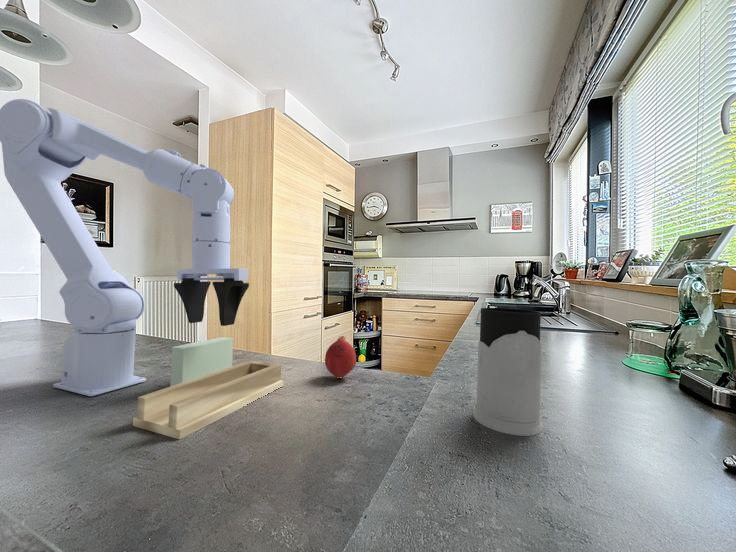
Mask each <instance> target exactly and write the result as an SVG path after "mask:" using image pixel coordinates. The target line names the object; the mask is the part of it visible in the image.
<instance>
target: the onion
mask: <svg viewBox="0 0 736 552" xmlns="http://www.w3.org/2000/svg"><path fill="white" fill-rule="evenodd" d="M346 339H347V338H346V336H345V335H343V334H342V335H339V337H338V338H337V340H336V341H334V342H333V343H332V344H330V346H328V348H327V350H326V352H325V357H324V363H325V367H326V369H327V371H328V372H329V373H330V374H331V375H332V376H334V377H335V378H337V377H339V378H340V377H344V378H345V377H346V376H347V375H348V374H349V373H351V372H352V371H353V369H354V368H355V366H356V365H357V354H356V351H355V349H354V347H353V345H351V344H350V343H349V342H348V341H346Z"/></svg>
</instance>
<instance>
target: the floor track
mask: <svg viewBox="0 0 736 552" xmlns="http://www.w3.org/2000/svg"><path fill="white" fill-rule="evenodd" d="M281 378H282V364H276V363H269V362H264V361H263V362H262V361H257V360H256V361H255V360H248V361H245V362H241V363H239V364H236V365H232V367H229V368H226V369H223V370H220V371H217V372H214V373H211V374H208V375H205V376H201V377H198V378H195V379H192V380H189V381H186V382H183V383H180V384H177V385H174V386H171V387H170V386H167V387H165V388H162V389H159V390H156V391H152V392H148V393H146V394H144V395H141V396H138V397H137V408H136V409H137V410H136V416H134V417H133V419H132V426H133V427H135V428H139V429H142V430H145V431H149V432H153V433H156V434H160V435H164V436H166V437H170V438H173V439H176V440H181V439H184V438H186V437H188V436H189V435H192V434H193V433H195V432H197V431H199V430H201V429H203V428H205V427H207V426H209V425H210V424H213V423H215V422H217V421H219V420H220V419H222V418H224V417H227V416H229V415H230V414H232V413H235V412H236V411H239V410H241V409H242V408H244V407H246V406H248V405H250V404H252V403H254V402H256V401H258V400H259V399H258V398H260V399H261V397H262V398H264V397H266V396H267V394H268V393H270V394H271V392H272V393H274V392H275V391H274V390H276V389H278V388H280V387H282V386H283V387H284V380H282V379H281ZM283 387H282V388H283ZM280 389H281V388H280ZM278 390H279V389H278ZM273 391H274V392H273ZM276 391H277V390H276ZM265 395H266V396H265ZM268 395H269V394H268ZM263 396H264V397H263ZM257 399H258V400H257ZM255 400H256V401H255ZM253 401H254V402H253ZM251 402H252V403H251ZM249 403H250V404H249ZM247 404H248V405H247ZM243 406H244V407H243Z"/></svg>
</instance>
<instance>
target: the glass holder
mask: <svg viewBox="0 0 736 552" xmlns="http://www.w3.org/2000/svg"><path fill="white" fill-rule="evenodd" d="M541 314H542V313H541V311H538V310H530V309H521V308H506V307H481V308H480V322H479V323H480V327H479V329H480V330H479V341H478V343H477V344H478V346H477V347H478V351H477V352H478V353H477V377H476V378H477V379H476V380H477V381H476V383H477V385H476V405H475V408H474V409H473V412H472V417H473V418H474V420H475V421H476V422H478V423H479V424H480V425H482V426H484V427H485V428H488V429H490V430H492V431H496V432H498V433H502V434H507V435H512V436H519V437H520V436H521V437H529V436H536V435H539V434H541V433H542V432H543V430H544V425H543V423H542V421H541V417H540V409H541V381H542V380H541V376H542V375H541V373H542V371H541V370H542V343H541V318H542V317H541V316H542V315H541Z"/></svg>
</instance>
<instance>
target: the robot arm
mask: <svg viewBox="0 0 736 552" xmlns="http://www.w3.org/2000/svg"><path fill="white" fill-rule="evenodd" d="M46 108H47V110H48V111H47V110H46V109H45V108H44V107H43V106H42V105H40V104H39V103H37V102H35V101H32V100H30V99H26V98H25V99H24V98H17V99H13V100H10V101H7V102H6V103H4V104H3V105H2V106H1V107H0V143H1V149H2V151H1V152H2V160H3V170H4V171H3V172H4V176H5V179H6V180H7V183H8V184H9V186H10V187H11V189H12V191H13V192H14V194H15V195H16V197H17V200H19V202H20V204H21V205H22V207H23V208H24V210H25V212H26V213H27V215H28V217H29V218H30V220H31V222H32V223H33V226H34V227H35V228H36V230H37V232H38V233H39V236H40V237H41V238H42V240H43V242H44V244H45V245H46V246H47V248H48V250H49V252H50V254H51V255H52V256H53V258H54V261H56V263H57V264H58V266H59V268H60V270H61V271H62V273H63V274H64V276H65V278H66V281H65V283H64V284H63V285H62V286H61V288H60V289H59V291H58V292H59V295H60V296H61V299H62V300H63V303H64V315H65V318H66V320H67V322H68V323H69V324H70V325H71V326H72V327H74V332H72V333H71V334H70V335H68V336H67V338H66V339H65V341H64V342H63V345H62V346H63V347H62V359H61V374H60V375H61V378H60V379H61V380H60V381H59V382H56V383H53V385H52V386H53V387H52V388H57V389H60V390H64V391H68V392H72V393H76V394H79V395H83V396H88V397H95V396H98V395H102V394H105V393H108V392H111V391H116V390H118V389H122V388H123V389H124V388H126V387H130V386H133V385H136V384H139V383H143V382H147V378H146V377H143V376H142V377H141V376H139V375H138V376H137V375H135V374H134V371H135V369H134V367H135V347H136V332H137V331H136V330H137V329H136V327H137V320H138V319H139V318H141V317H142V316H143V314H144V312H145V309H146V300H145V298H144V296H143V294H142V293H141V292H140V291H139V290H137V289H136V288H134V287H133V286H131V284H129V282H128V281H127V278H125V277H124V276H123V275H122V274H120V273H118V272H117V271H115V270H114V269H113V268H111V266H110V265H109V263H108V261H107V259H105V256H104V255H103V253H102V252H101V250H100V248H99V246H98V244H97V243H96V242H95V240H94V238H93V236H92V234H91V233H90V231H89V230H88V228H87V226H86V225H85V223H84V221H83V219H82V218H81V216H80V214H79V213H78V210H77V209H76V208H75V206H74V204H73V203H72V201H71V199H70V198H69V196H68V194H67V192H66V191H65V189H64V187H63V186H62V184H61V183H62V182H63V181H65V180H67V179H68V178H69V177H70V176H71V175H72V174H73V173H74V172H76V170H78V168H80V167H81V166H82V165H83V164H84V163H85V162H86V161H87V160H88V159H89V160H91V161H94V160H96V159H97V158H98V157H99V156H100V155H101V156H104V157H107V158H109V159H111V160H115V161H118V162H120V163H123V164H125V165H127V166H130V167H133V168H135V169H138V170H140V171H142V172H143V174H144V177H145V178H146V180H147V181H148V182H150V183H151V184H154V185H156V186H160V187H161V188H164V189H167V190H168V191H171V192H173V193H176V194H178V195H180V196H183V197H185V198H188V199H192V243H191V244H192V246H191V247H192V248H191V249H192V250H191V251H192V255H191V257H192V258H191V268H184V269H177V281H180V282H173V287H174V288H175V290H176V291H177V293H178V296H179V297H180V299H181V301H182V303H183V307H184V309H185V312H186V313H185V314H186V316H187V320H188V324H195V323H202V322H203V319H204V315H205V303H206V297H207V295H208V294H207V293H208V290H209V288H210V285H211V283H212V286H213V288H214V291H215V294H216V298H217V304H218V316H219V322H220V326H223V327H226V326H232V325H235V322H236V317H237V313H238V310H239V307H240V304H241V302H242V299H243V297H244V295H245V294H246V292H247V290H248V289H249V287H250V283H249V282H244V281H249V268H238V267H236V268H234V267H233V268H231V213H230V212H231V211H230V210H231V205H232V204H233V202H234V199H235V190H234V189H233V187H232V185H231V184H230V183H229V181H228V180H227V179H226V178H225V177H224V176H223V174H221V173H220V172H219V171H218V170H216V169H213V168H209V167H208V166H207V165H205V163H200V164H199V165H198V164H197V163H195V162H191V161H189V160H187V159H185V158H183V157H182V155H181V154H180V153H179V152H178V151H176V150H175V149H171V148H170V149H169V151H167V150H165V149H161V148H157V149H154V150H150V151H148V150H146V149H143V148H141V147H139V146H137V145H135V144H132V143H130V142H128V141H127V140H124V139H123V138H120V137H118V136H115V135H113V134H112V133H110V132H108V131H105V130H103V129H101V128H98V127H97V126H95V125H92V124H90V123H89V122H86V121H83V120H81V119H78V118H76V117H74V116H72V115H69V114H67V113H66V112H62V111H60V110H58V109H55V108H51V107H46ZM208 275H215V277H212V276H211V277H208ZM211 281H212V282H211Z"/></svg>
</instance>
